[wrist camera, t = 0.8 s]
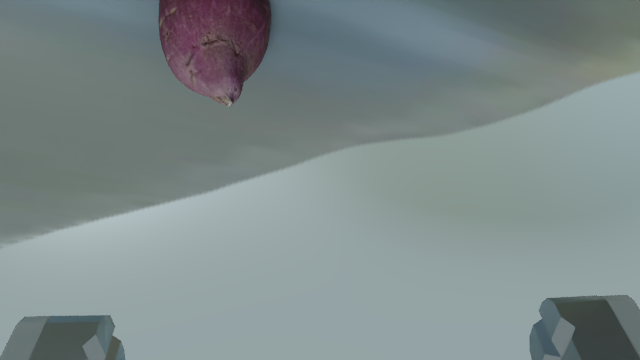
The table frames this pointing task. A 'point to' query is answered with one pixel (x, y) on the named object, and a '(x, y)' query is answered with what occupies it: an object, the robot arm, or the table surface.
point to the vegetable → (214, 43)
